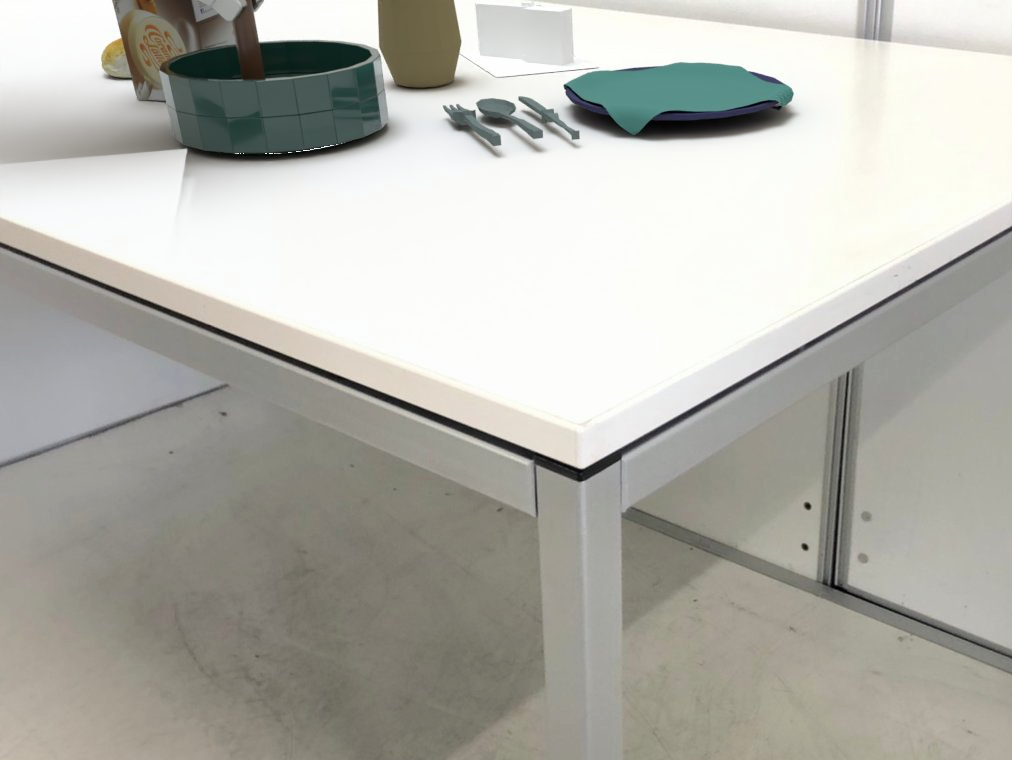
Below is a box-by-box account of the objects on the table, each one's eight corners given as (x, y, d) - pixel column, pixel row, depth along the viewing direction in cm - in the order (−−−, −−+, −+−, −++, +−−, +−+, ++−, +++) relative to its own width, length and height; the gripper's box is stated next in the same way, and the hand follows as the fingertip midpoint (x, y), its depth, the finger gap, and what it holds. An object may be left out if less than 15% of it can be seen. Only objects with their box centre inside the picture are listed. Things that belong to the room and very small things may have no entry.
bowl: (171, 169, 85) (152, 88, 82) (181, 118, 100) (166, 47, 97) (399, 149, 90) (389, 71, 87) (378, 102, 104) (369, 34, 101)
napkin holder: (456, 52, 125) (451, -3, 122) (551, 44, 128) (549, -10, 126) (496, 77, 113) (492, 17, 110) (600, 67, 117) (598, 8, 114)
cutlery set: (829, 122, 95) (832, 94, 94) (493, 163, 86) (490, 133, 84) (725, 78, 111) (726, 54, 110) (431, 109, 101) (428, 82, 100)
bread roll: (199, 61, 122) (191, 22, 120) (174, 79, 114) (165, 37, 112) (123, 63, 122) (114, 24, 120) (92, 80, 114) (82, 39, 112)
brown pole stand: (229, 135, 90) (185, -86, 82) (230, 121, 94) (188, -91, 86) (296, 130, 91) (259, -88, 83) (293, 116, 96) (258, -93, 87)
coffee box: (254, 91, 109) (219, -93, 101) (214, 105, 104) (174, -87, 95) (174, 86, 111) (134, -94, 103) (132, 100, 106) (86, -89, 98)
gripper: (39, -160, 74) (209, 0, 78) (184, -167, 91) (318, -36, 95) (-2, -85, 77) (164, 65, 81) (146, -105, 94) (277, 19, 98)
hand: (248, 10), depth 88 cm, fingers closed on brown pole stand
